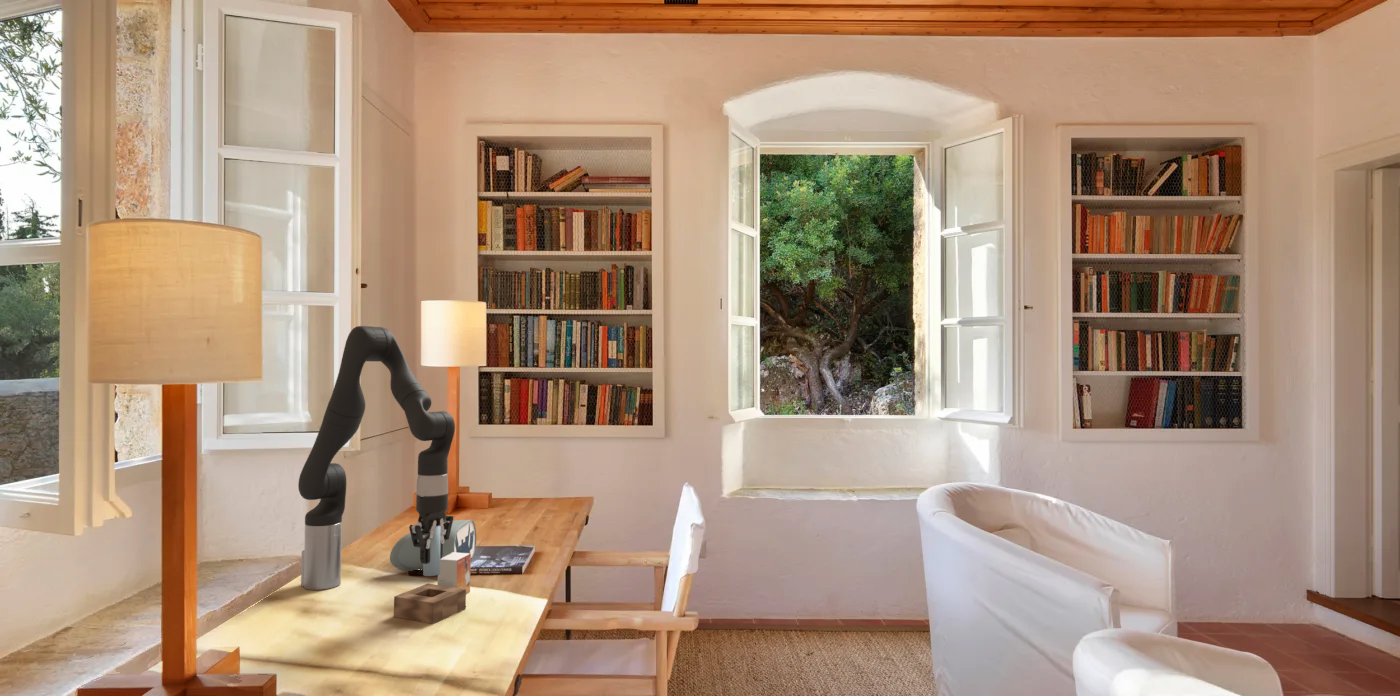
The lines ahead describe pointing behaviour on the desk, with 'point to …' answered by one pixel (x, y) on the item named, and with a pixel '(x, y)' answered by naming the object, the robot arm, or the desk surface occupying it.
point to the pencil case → (458, 541)
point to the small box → (455, 571)
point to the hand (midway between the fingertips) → (431, 560)
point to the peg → (433, 554)
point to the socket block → (429, 603)
